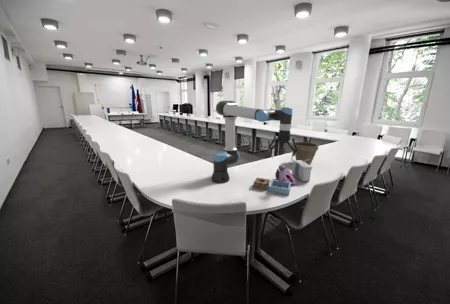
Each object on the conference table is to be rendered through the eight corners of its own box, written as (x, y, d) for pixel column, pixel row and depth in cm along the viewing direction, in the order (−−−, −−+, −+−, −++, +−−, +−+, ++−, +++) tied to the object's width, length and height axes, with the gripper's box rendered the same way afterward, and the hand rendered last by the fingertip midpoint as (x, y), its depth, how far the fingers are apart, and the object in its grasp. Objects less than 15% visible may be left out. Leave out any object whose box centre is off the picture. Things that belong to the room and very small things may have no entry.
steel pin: (276, 189, 147) (278, 166, 143) (277, 186, 151) (279, 165, 147) (282, 190, 145) (285, 167, 141) (283, 187, 149) (286, 165, 145)
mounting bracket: (294, 190, 162) (283, 174, 175) (298, 183, 157) (287, 167, 170) (284, 191, 159) (274, 175, 172) (287, 184, 154) (277, 168, 167)
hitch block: (253, 188, 151) (253, 181, 150) (256, 183, 160) (257, 177, 159) (266, 190, 147) (266, 184, 146) (269, 185, 156) (269, 179, 155)
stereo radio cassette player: (291, 173, 184) (293, 152, 179) (299, 173, 184) (301, 152, 180) (301, 182, 164) (304, 159, 159) (311, 181, 164) (313, 158, 159)
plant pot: (321, 166, 206) (324, 145, 200) (300, 167, 200) (302, 146, 195) (306, 159, 229) (308, 141, 224) (287, 160, 224) (289, 142, 219)
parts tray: (268, 191, 145) (269, 186, 144) (272, 184, 157) (272, 179, 156) (288, 195, 140) (289, 189, 139) (290, 187, 152) (291, 182, 151)
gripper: (265, 129, 139) (263, 158, 144) (303, 132, 130) (300, 162, 135) (267, 127, 146) (265, 155, 151) (304, 130, 136) (300, 160, 142)
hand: (281, 159), depth 143 cm, fingers open, 13 cm apart
